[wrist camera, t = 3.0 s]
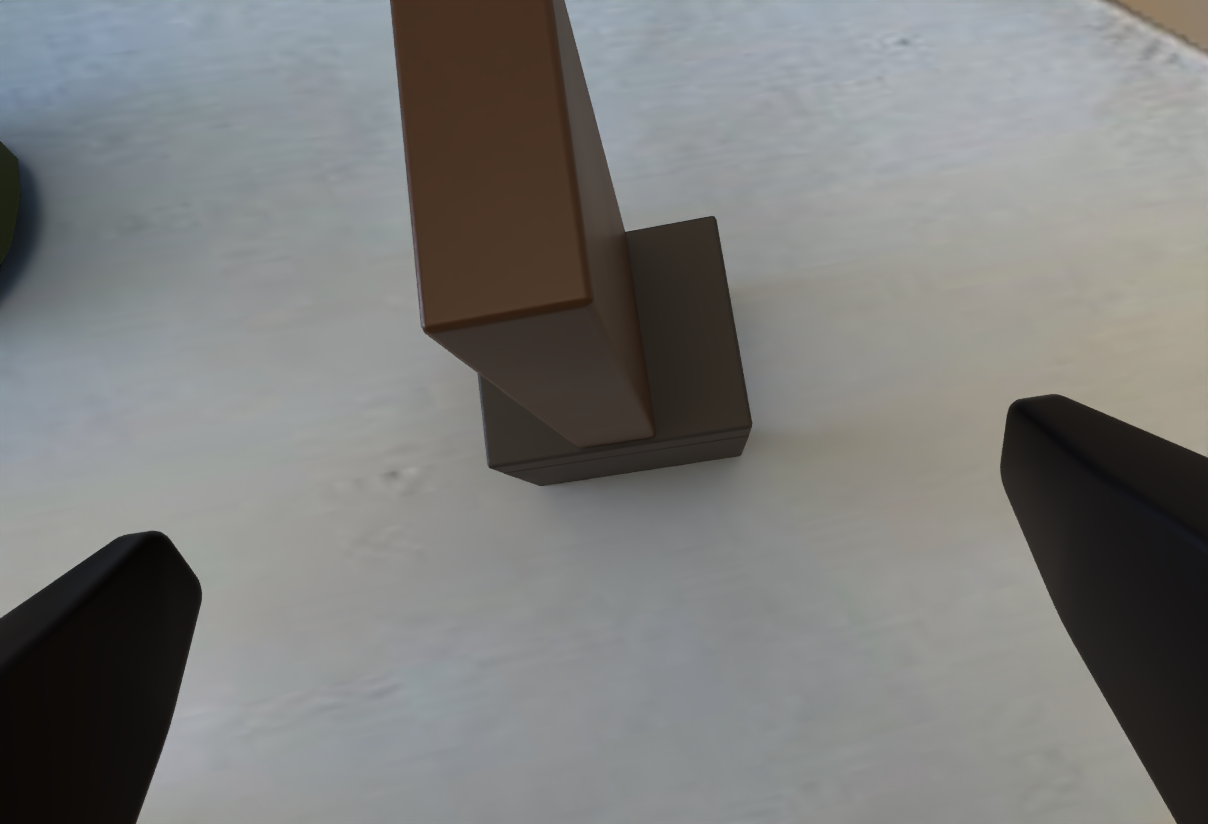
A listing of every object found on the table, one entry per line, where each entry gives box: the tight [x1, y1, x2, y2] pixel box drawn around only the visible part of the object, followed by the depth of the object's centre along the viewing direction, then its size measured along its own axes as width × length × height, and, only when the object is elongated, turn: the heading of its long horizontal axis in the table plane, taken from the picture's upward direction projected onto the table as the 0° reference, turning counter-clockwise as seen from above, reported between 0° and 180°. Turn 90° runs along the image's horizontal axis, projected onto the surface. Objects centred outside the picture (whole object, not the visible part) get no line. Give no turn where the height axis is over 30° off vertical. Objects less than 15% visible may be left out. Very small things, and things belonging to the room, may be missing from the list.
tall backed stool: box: [390, 0, 752, 486], centre depth 13 cm, size 4×5×12 cm
